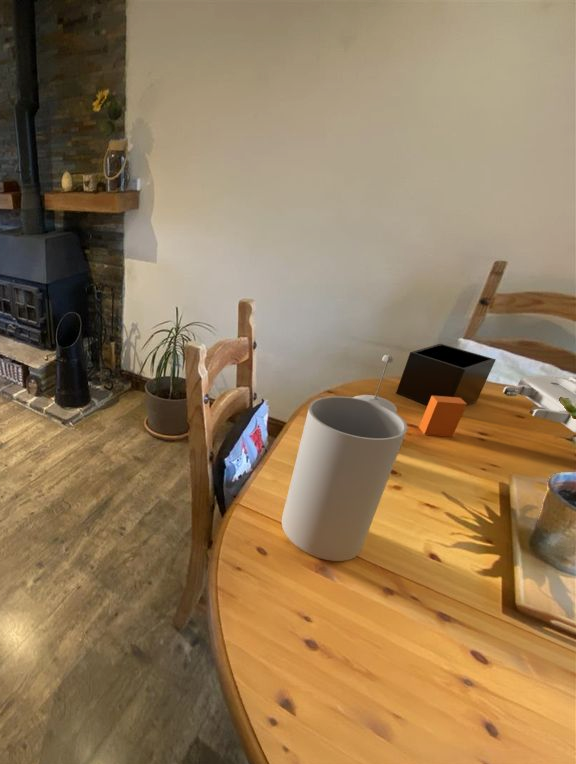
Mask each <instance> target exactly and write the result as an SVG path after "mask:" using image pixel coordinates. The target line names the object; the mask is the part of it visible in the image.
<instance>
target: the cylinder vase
mask: <svg viewBox="0 0 576 764" xmlns="http://www.w3.org/2000/svg"><path fill="white" fill-rule="evenodd" d="M407 431H408V425H407V422H406V421H405V419H404V418H403V417H402V416H400V414H398V412H396V413H395V412H393V411H392V410H390V409H388V408H386V407H384V406H381V405H379V404H376V403H373V402H370V401H366V400H362V399H358V398H353V397H352V396H351V397H350V396H340V395H339V396H337V395H335V396H333V395H332V396H324V397H319V398H317V399H314V400H313V401H311V403H310V404H309V406H308V409H307V414H306V418H305V421H304V426H303V430H302V434H301V439H300V442H299V446H298V450H297V454H296V459H295V461H294V467H293V472H292V475H291V479H290V483H289V487H288V491H287V495H286V500H285V504H284V509H283V511H282V515H281V527H282V530H283V532H284V534H285V536H286V537H287V539H288V540H289V541H290V542H291V543H292V544H293V545H295V547H297V548H298V549H299V550H301V551H303V552H305V554H308V555H311V556H312V557H315V558H318V559H322V560H325V561H329V562H330V561H331V562H345V561H349V560H351V559H354V558H356V557H357V556H358V555H359V554H360V553H361V551H362V549H363V546H364V544H365V541H366V539H367V537H368V533H369V530H370V528H371V525H372V523H373V520H374V518H375V515H376V512H377V510H378V507H379V505H380V503H381V499H382V497H383V494H384V492H385V489H386V486H387V483H388V481H389V478H390V475H391V473H392V471H393V468H394V466H395V462H396V460H397V457H398V455H399V452H400V449H401V447H402V444H403V441H404V439H405V436H406V433H407Z"/></svg>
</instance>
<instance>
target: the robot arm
mask: <svg viewBox="0 0 576 764" xmlns="http://www.w3.org/2000/svg"><path fill="white" fill-rule="evenodd" d="M502 393H503V394H504V395H505V396H506V397H517V395H521V396H523V397H525V398H526V399H527V400H529V401H531V402H532V403H533V404H535V405H536V406H532V407H531V408H530V410H529V414H530V415H531V416H533V417H534V418H537V419H539V418H540V419H546V420H549V421H552V422H555V423H560V424H561V425H563V426H565V427H566V428H567V429H569V430H570V431H571V432H573V433H575V434H576V419H573V418H572V416H571V415H570V414H569V413H568V412H567V411H566V409H565V408H564V406H563V405H562V404H561V403H560V401H559V398H560V397H563V398H569V399H570V400H571V401H572V403H573V404H576V376H569V377H568V378H565V377H558V376H546V375H545V376H543V375H542V376H541V375H527V376H523V377H521V379H520V380H519V382H518V384H517V385H515V386H508V385H507V386H505V387H504V388H503V390H502Z"/></svg>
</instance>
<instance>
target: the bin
mask: <svg viewBox="0 0 576 764" xmlns="http://www.w3.org/2000/svg"><path fill="white" fill-rule="evenodd" d="M496 361H497V359H496V358H493V357H489V356H485V355H481V354H478V353H475V352H472V351H469V350H464V349H461V348H457V347H454V346H450V345H447V344H443V343H437V344H434V345H431V346H427V347H423V348H419V349H417V350H413V351H411V352H409V355H408V357H407V360H406V363H405V366H404V369H403V372H402V374H401V378H400V380H399V382H398V386H397V389H396V392H395V394H396V395H398V396H401V397H404V398H406V399H408V400H411V401H414V402H416V403H418V404H420V405H423V406H425V407H427V406H428V404H429V401H430V398H431V396H445V397H458V398H461V399H462V400H463V401H464V402H465V403H466V404H467V405H466V407H468V406H471V405H474V404H477V403H478V400H479V398H480V395H481V393H482V392H483V389H484V386H485V385H486V383H487V380H488V379H489V378H488V377H489V375H490V373H491V372H492V369H493V367H494V365H495V363H496Z"/></svg>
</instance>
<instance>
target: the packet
mask: <svg viewBox="0 0 576 764" xmlns="http://www.w3.org/2000/svg"><path fill="white" fill-rule="evenodd" d="M466 405H467V404H466V403H465V402H464V401H463V400H462V399H461V398H458V397H445V396H431V398H430V401H429V404H428V406H426V409H425V410H424V413H423V415H422V419H421V421H420V424H419V425H418V428H419V430H420V431H421V432H422V433H423V435H428V436H438V437H439V436H440V437H449V438H453V436H454V434H455V432H456V429H457V428H458V426H459V424H460V421H461V418H462V417H463V414H464V412H465V410H466V407H467V406H466Z"/></svg>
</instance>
